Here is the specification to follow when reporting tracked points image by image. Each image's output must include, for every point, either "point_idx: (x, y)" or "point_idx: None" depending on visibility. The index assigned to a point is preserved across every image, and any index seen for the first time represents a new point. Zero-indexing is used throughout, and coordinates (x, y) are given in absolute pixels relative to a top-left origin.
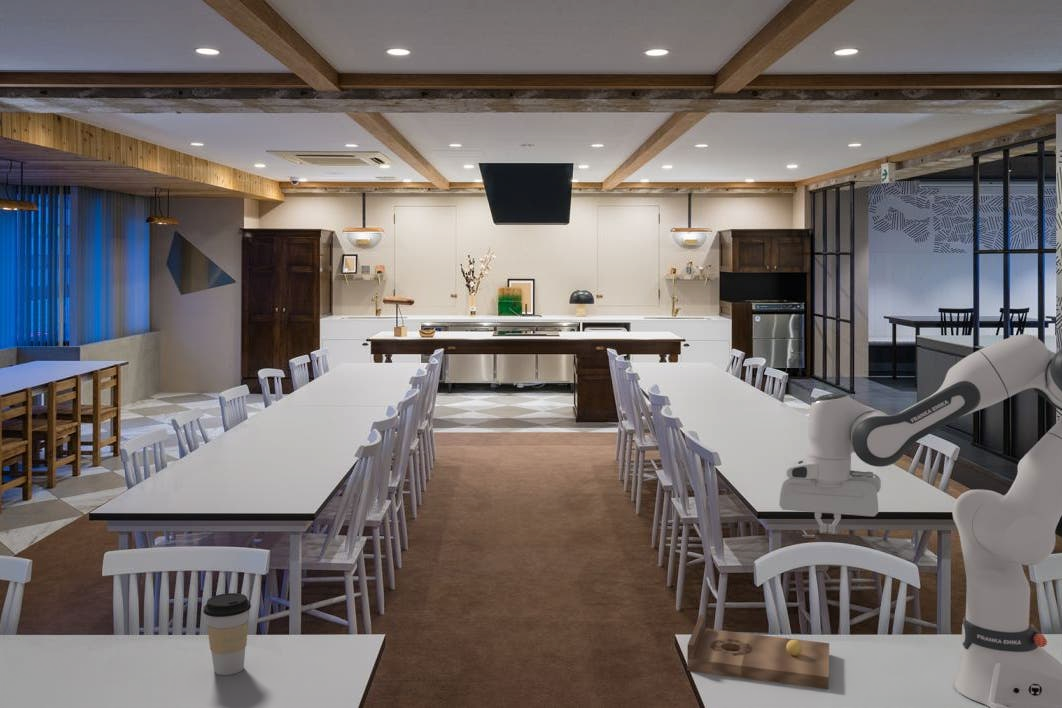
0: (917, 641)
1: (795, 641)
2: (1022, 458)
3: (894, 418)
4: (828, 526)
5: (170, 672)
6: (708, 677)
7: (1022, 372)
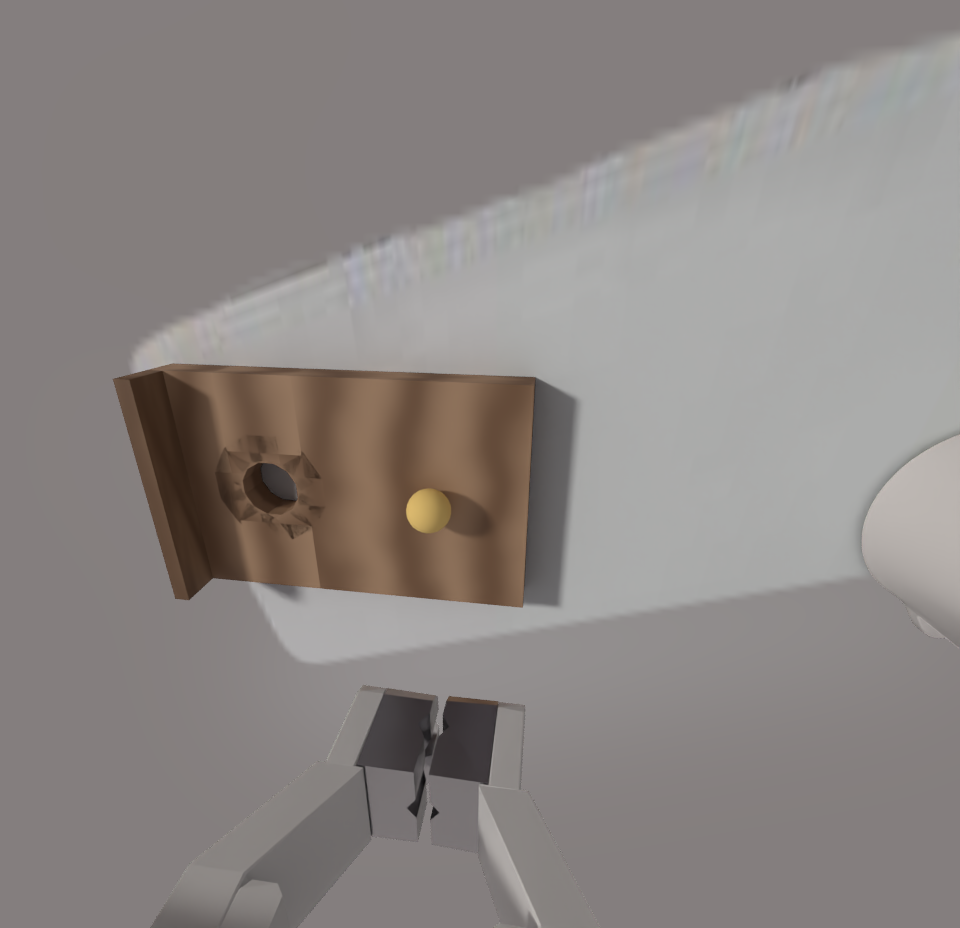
0: (896, 134)
1: (427, 526)
2: None
3: None
4: (438, 837)
5: None
6: None
7: None
